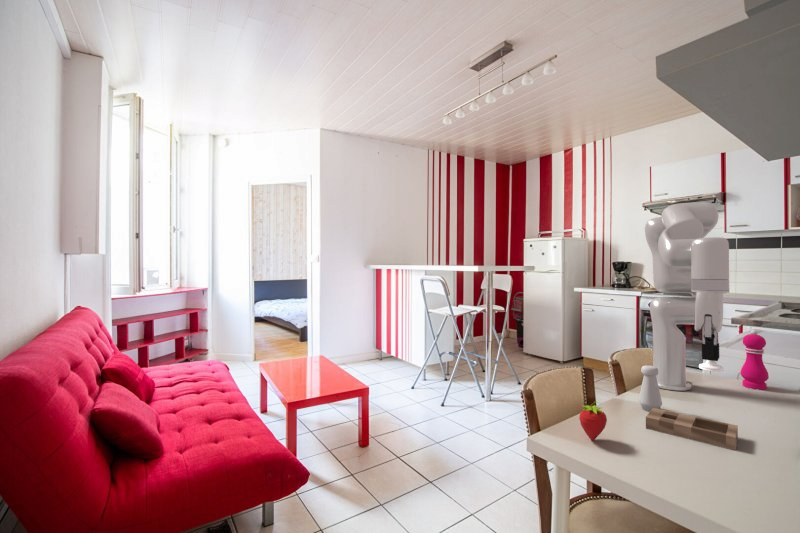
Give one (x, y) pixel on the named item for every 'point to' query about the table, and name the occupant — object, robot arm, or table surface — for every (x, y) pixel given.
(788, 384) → the table surface
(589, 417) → the strawberry
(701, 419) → the socket plate
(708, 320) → the robot arm
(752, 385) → the pepper mill
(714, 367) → the chess piece
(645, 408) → the salt shaker
